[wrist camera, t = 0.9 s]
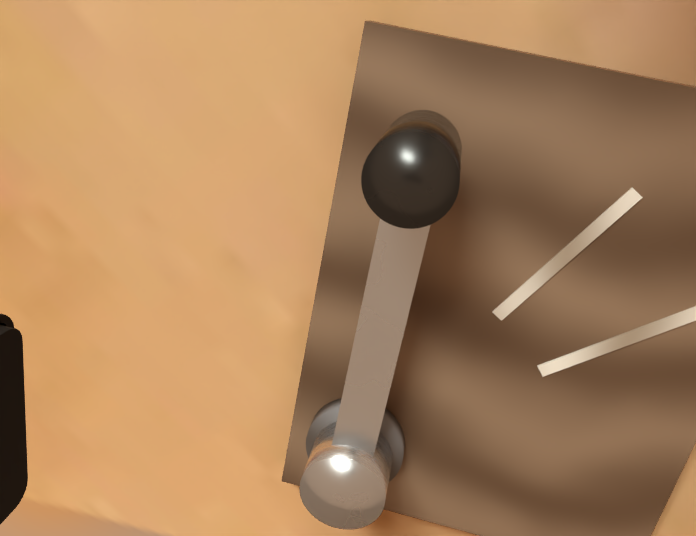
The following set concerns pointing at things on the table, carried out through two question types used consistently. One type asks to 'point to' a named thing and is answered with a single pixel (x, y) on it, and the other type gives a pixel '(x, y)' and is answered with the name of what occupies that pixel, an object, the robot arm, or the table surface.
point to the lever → (382, 314)
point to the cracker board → (523, 293)
